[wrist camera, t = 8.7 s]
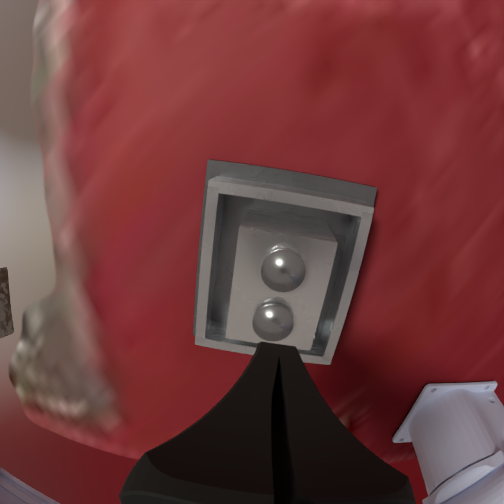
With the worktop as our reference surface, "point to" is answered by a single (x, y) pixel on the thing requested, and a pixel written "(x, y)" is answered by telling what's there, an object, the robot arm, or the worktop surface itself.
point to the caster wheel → (5, 305)
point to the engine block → (279, 278)
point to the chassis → (284, 201)
